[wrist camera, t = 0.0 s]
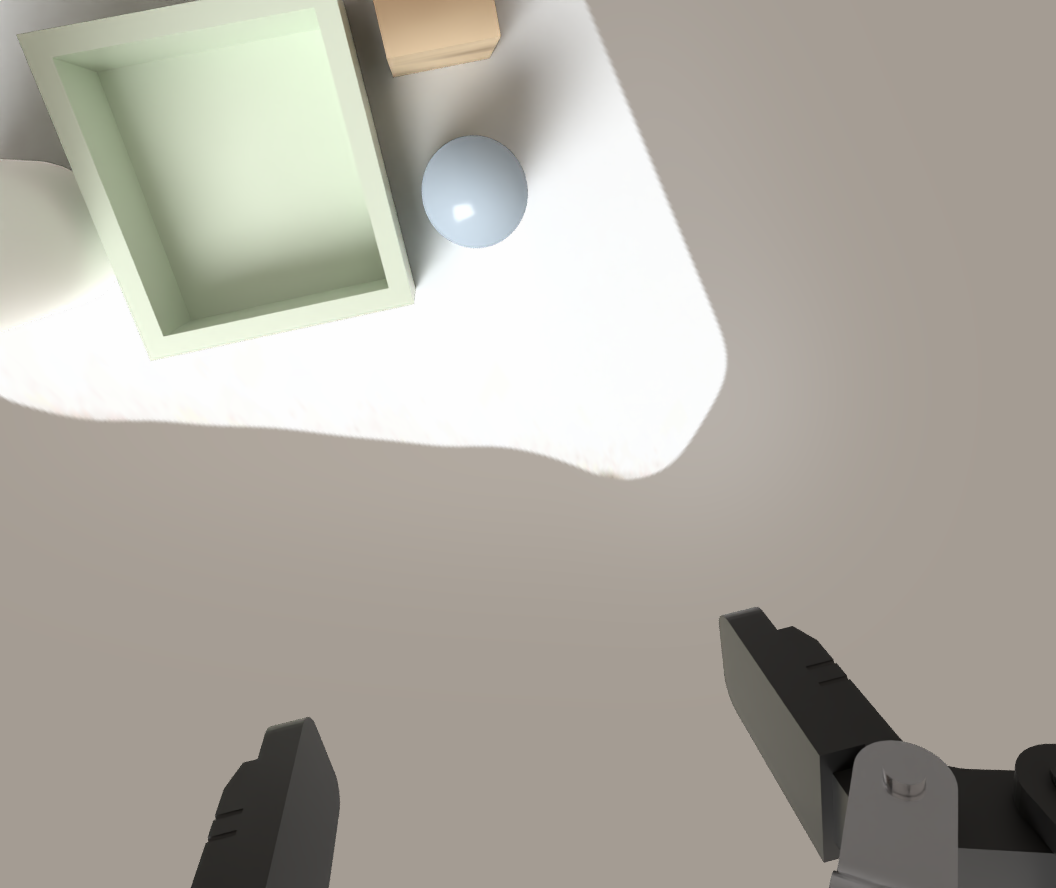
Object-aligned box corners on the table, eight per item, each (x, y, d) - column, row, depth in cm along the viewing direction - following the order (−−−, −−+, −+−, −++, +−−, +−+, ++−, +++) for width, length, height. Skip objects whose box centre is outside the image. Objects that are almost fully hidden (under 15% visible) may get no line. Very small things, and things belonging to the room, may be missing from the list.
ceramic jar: (412, 152, 36) (409, 147, 30) (501, 134, 37) (516, 125, 30) (434, 245, 38) (435, 257, 32) (519, 227, 38) (536, 236, 32)
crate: (74, 55, 33) (15, 34, 28) (344, 3, 34) (330, -25, 29) (184, 339, 38) (150, 360, 33) (415, 289, 39) (413, 304, 34)
